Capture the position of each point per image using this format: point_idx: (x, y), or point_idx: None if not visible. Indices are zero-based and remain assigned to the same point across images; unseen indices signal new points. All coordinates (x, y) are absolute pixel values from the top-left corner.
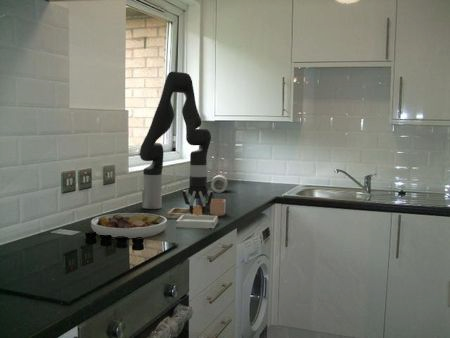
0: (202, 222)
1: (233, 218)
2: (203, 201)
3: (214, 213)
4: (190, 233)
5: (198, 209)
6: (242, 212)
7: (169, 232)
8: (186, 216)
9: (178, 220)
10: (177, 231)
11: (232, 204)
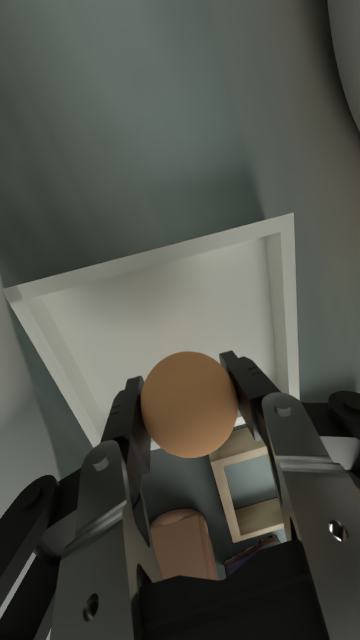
0: (92, 265)
1: None
2: (98, 519)
3: (181, 520)
4: (93, 37)
5: (165, 378)
6: None
7: (263, 3)
8: None
9: (281, 234)
10: (217, 78)
11: None
